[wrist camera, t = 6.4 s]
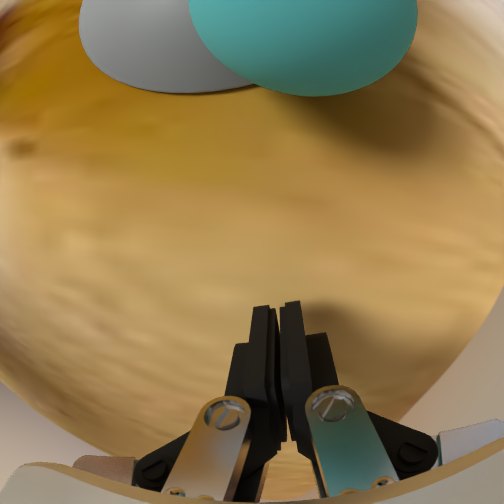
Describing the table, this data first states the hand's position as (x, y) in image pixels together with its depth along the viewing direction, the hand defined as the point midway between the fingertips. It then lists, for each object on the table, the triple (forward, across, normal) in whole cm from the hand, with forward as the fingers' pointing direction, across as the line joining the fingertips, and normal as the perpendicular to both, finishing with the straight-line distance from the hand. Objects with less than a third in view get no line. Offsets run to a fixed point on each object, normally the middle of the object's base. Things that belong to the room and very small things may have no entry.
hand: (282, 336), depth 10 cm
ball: (-2, -2, -11) cm, 11 cm away
